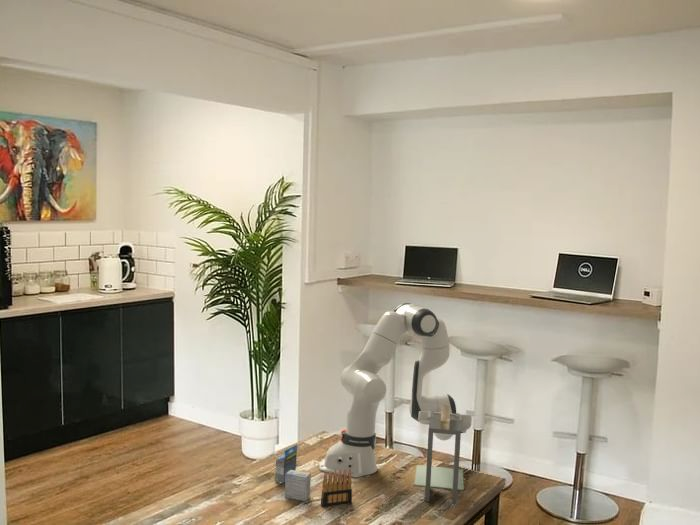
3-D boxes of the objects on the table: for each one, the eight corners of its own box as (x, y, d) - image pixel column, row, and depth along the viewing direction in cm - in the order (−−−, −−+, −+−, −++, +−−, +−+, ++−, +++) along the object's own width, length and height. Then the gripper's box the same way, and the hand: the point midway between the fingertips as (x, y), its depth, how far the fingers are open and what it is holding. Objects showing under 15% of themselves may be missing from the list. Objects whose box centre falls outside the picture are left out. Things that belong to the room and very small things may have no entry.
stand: (424, 501, 237) (428, 428, 235) (426, 487, 249) (429, 418, 247) (456, 504, 235) (460, 430, 234) (456, 490, 247) (460, 420, 245)
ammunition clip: (349, 501, 234) (351, 467, 234) (351, 503, 233) (353, 469, 232) (320, 505, 230) (322, 470, 229) (322, 507, 229) (323, 472, 228)
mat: (413, 485, 251) (414, 484, 250) (416, 465, 270) (416, 464, 270) (463, 490, 248) (463, 489, 248) (462, 470, 268) (462, 469, 268)
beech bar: (440, 429, 235) (440, 420, 234) (441, 412, 254) (441, 404, 254) (449, 429, 234) (449, 421, 234) (449, 413, 254) (449, 405, 254)
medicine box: (310, 497, 236) (311, 472, 236) (305, 502, 232) (306, 477, 232) (289, 493, 239) (290, 469, 238) (284, 498, 235) (285, 473, 234)
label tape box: (286, 473, 256) (288, 441, 255) (296, 476, 255) (297, 443, 254) (274, 481, 248) (275, 448, 248) (283, 484, 247) (285, 450, 246)
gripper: (418, 412, 270) (417, 403, 258) (470, 417, 268) (472, 408, 255) (417, 428, 268) (416, 420, 255) (470, 433, 265) (472, 425, 253)
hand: (445, 414), depth 255 cm, fingers open, 8 cm apart
